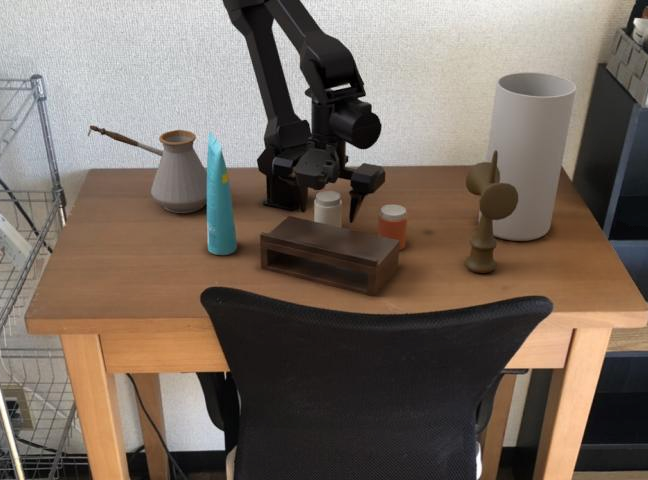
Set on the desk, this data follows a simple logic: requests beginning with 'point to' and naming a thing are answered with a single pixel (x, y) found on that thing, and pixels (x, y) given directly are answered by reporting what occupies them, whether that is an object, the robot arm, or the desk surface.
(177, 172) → the coffee pot
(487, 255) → the kendama
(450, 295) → the desk surface
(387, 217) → the orange lidded jar
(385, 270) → the shelf
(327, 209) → the white lidded jar
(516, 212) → the cylinder vase
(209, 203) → the tube
